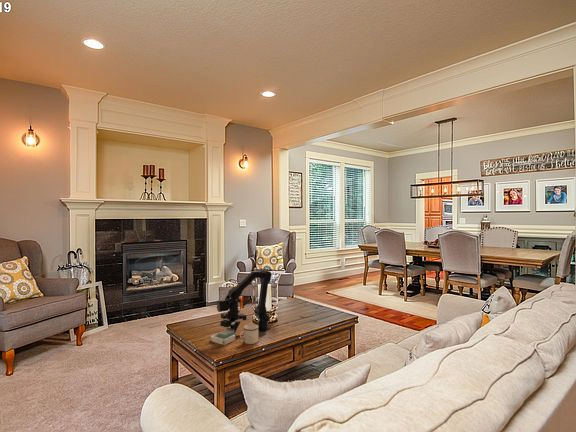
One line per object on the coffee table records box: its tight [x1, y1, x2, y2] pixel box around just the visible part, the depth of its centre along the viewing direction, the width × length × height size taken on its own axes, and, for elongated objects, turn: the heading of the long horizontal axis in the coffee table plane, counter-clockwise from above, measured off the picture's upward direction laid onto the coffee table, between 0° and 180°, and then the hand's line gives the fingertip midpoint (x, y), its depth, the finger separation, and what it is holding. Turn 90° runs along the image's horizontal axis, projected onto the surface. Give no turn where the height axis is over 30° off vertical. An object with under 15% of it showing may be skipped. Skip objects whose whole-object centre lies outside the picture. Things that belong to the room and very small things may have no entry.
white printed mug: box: [239, 321, 259, 345], centre depth 199 cm, size 12×9×12 cm
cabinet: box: [217, 327, 236, 339], centre depth 205 cm, size 8×6×5 cm
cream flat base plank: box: [210, 332, 236, 346], centre depth 202 cm, size 10×11×3 cm
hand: (233, 333), depth 210 cm, fingers closed
